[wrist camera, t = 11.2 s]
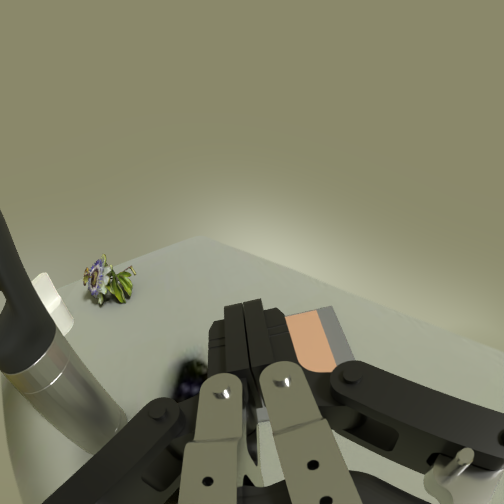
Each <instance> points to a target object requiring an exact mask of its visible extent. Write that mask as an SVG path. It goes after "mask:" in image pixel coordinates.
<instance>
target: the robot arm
mask: <svg viewBox="0 0 504 504" xmlns="http://www.w3.org/2000/svg"><path fill="white" fill-rule="evenodd" d="M0 291H2V292H3V294H4V296H5V298H6V303H5V306H4V308H3V310H2V312H1V314H0V370H1V372H2V373H3V374H4V375H5V376H6V377H7V379H8V380H9V381H10V382H11V383H12V384H13V385H14V386H15V388H16V389H17V390H18V391H19V392H20V393H21V394H22V395H23V396H24V397H25V398H26V399H27V400H28V401H29V402H30V403H31V404H32V405H33V407H34V408H35V409H36V410H37V411H38V412H39V413H40V414H41V415H42V416H43V417H45V418H46V419H47V420H48V421H49V422H50V423H51V424H52V425H53V426H54V427H56V428H57V429H58V430H59V431H60V432H61V433H63V434H64V435H65V436H66V437H67V438H69V439H70V440H71V441H72V442H74V443H75V444H77V445H78V446H79V447H81V448H82V449H83V450H85V451H86V452H88V453H90V454H94V456H93V457H92V458H91V459H90V460H89V461H88V462H87V463H85V464H84V465H83V466H82V467H81V468H80V469H79V470H78V471H77V472H76V473H75V474H74V475H73V476H71V477H70V478H69V479H68V480H67V481H66V482H65V483H64V484H63V485H62V486H60V487H59V488H58V489H57V490H56V491H55V492H54V493H53V494H52V495H50V496H49V497H48V498H47V499H46V500H45V501H44V502H43V503H42V504H163V503H164V502H165V501H166V500H167V499H168V498H169V497H170V496H171V495H172V494H173V493H174V492H175V491H176V490H177V488H178V487H179V486H180V491H179V501H178V503H177V504H431V503H429V502H426V501H424V500H422V499H420V498H418V497H415V496H413V495H411V494H409V493H407V492H405V491H403V490H401V489H399V488H397V487H395V486H393V485H391V484H389V483H387V482H385V481H383V480H381V479H379V478H377V477H375V476H373V475H370V474H367V473H363V472H359V471H351V470H348V468H347V466H346V463H345V461H344V459H343V456H342V454H341V452H340V449H339V447H338V445H337V442H336V440H335V437H334V435H333V433H332V430H331V429H333V430H334V431H335V432H336V433H338V434H340V435H341V436H343V437H345V438H347V439H349V440H351V441H353V442H355V443H357V444H359V445H361V446H363V447H365V448H367V449H369V450H371V451H373V452H375V453H377V454H379V455H381V456H383V457H385V458H387V459H389V460H392V461H394V462H396V463H398V464H400V465H403V466H405V467H407V468H410V469H412V470H414V471H417V472H419V473H422V474H424V475H425V476H424V488H425V490H426V491H427V493H428V494H430V495H431V496H433V497H435V498H436V499H437V500H438V501H439V503H440V504H489V503H490V501H491V499H492V497H493V495H494V493H495V491H496V488H497V486H498V484H499V481H500V479H501V476H502V474H503V471H504V413H500V412H497V411H494V410H491V409H488V408H485V407H482V406H479V405H476V404H473V403H470V402H467V401H464V400H461V399H458V398H455V397H452V396H450V395H447V394H444V393H441V392H439V391H436V390H433V389H430V388H428V387H425V386H422V385H420V384H417V383H415V382H412V381H409V380H407V379H404V378H402V377H399V376H397V375H394V374H392V373H389V372H387V371H384V370H382V369H379V368H377V367H374V366H372V365H369V364H367V363H365V362H362V361H356V360H352V361H346V362H343V363H341V364H339V365H338V366H336V367H335V368H334V369H333V371H332V372H314V371H310V370H308V369H306V368H304V367H303V366H302V365H301V364H300V363H299V361H298V359H297V355H296V352H295V349H294V345H293V342H292V339H291V335H290V333H289V329H288V326H287V322H286V319H285V316H284V314H283V313H282V312H281V311H280V310H279V309H278V308H272V309H268V310H263V305H262V301H261V298H260V299H256V300H251V301H247V302H243V304H242V303H238V304H234V305H229V306H225V307H224V319H223V320H218V321H214V322H213V324H212V326H211V328H210V330H209V343H208V348H209V350H208V379H207V380H206V381H205V382H204V383H203V385H202V386H201V389H200V393H199V394H197V395H196V396H194V397H192V398H190V399H188V400H185V401H183V402H180V403H178V404H177V403H176V402H175V401H174V400H173V399H170V398H165V397H163V398H157V399H154V400H152V401H150V402H149V403H148V404H147V405H146V406H145V407H143V408H142V409H141V410H140V411H139V412H138V413H137V414H136V415H135V416H134V417H133V418H132V419H131V420H130V421H129V422H128V421H127V417H126V414H125V413H124V411H123V410H122V409H121V408H120V406H119V405H118V404H117V403H116V402H115V401H114V400H113V399H112V398H111V396H110V395H109V394H108V393H107V392H106V390H105V389H104V388H103V387H102V386H101V384H100V383H99V382H98V381H97V380H96V378H95V377H94V376H93V375H92V373H91V372H90V371H89V370H88V368H87V367H86V366H85V365H84V363H83V362H82V361H81V359H80V358H79V357H78V355H77V354H76V353H75V351H74V350H73V348H72V347H71V346H70V344H69V343H68V341H67V340H66V339H65V337H64V336H63V334H62V333H61V331H60V330H59V328H58V327H57V325H56V324H55V322H54V320H53V319H52V317H51V316H50V314H49V313H48V311H47V309H46V308H45V306H44V304H43V303H42V301H41V299H40V297H39V296H38V294H37V292H36V290H35V288H34V287H33V285H32V283H31V281H30V279H29V277H28V275H27V273H26V271H25V269H24V267H23V264H22V262H21V260H20V257H19V255H18V252H17V250H16V248H15V245H14V242H13V240H12V237H11V234H10V232H9V229H8V227H7V224H6V222H5V219H4V217H3V215H2V213H1V211H0ZM243 306H244V307H243ZM261 397H262V398H261ZM262 400H263V403H264V406H265V407H266V409H267V412H268V416H269V420H270V423H271V427H272V431H273V437H274V441H275V445H276V449H277V452H278V456H279V460H280V463H281V467H282V470H283V474H284V477H285V480H282V481H280V482H278V483H275V484H273V485H270V486H267V487H264V481H263V477H262V473H261V463H260V440H259V425H258V417H257V410H256V409H258V408H263V405H262Z"/></svg>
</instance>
